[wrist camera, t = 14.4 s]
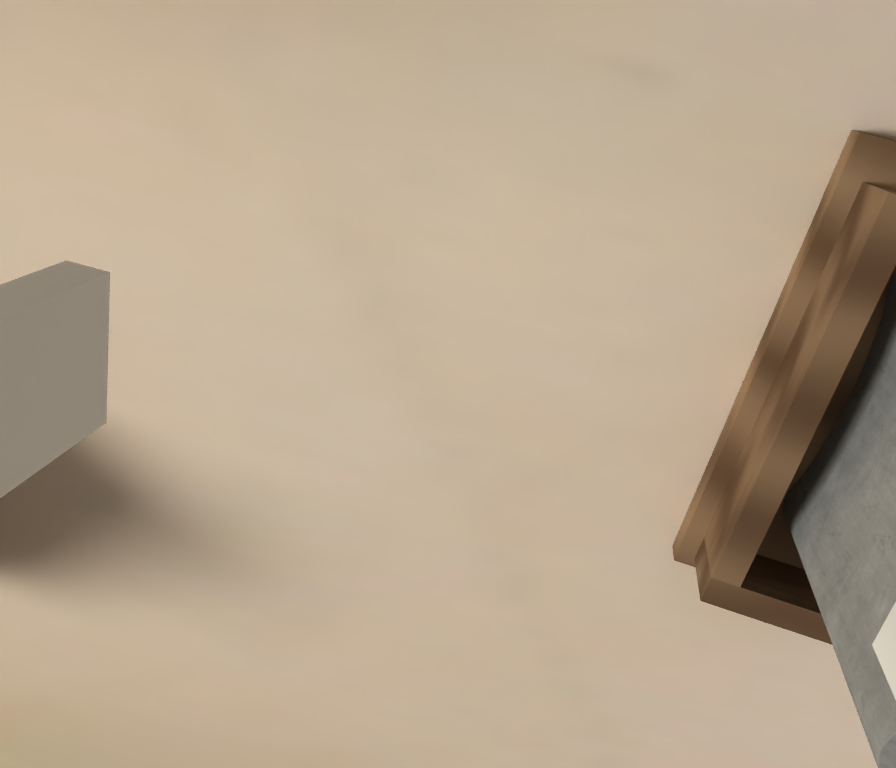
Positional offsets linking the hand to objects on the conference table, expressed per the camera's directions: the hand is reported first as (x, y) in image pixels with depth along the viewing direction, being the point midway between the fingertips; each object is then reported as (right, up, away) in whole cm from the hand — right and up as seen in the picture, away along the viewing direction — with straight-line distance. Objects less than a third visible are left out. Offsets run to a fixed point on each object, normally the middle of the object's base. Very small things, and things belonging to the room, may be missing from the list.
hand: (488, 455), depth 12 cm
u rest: (+21, +1, +29) cm, 36 cm away
